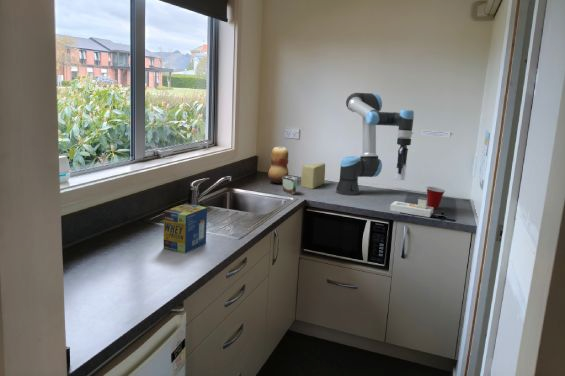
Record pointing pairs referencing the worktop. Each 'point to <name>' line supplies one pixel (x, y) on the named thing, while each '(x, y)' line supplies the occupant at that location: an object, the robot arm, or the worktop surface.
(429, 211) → the power strip
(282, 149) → the butternut squash
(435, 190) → the plastic cup
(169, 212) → the protein box
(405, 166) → the grey plug
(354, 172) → the robot arm
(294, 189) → the food container
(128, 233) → the worktop surface
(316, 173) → the cheese
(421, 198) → the beige plug
